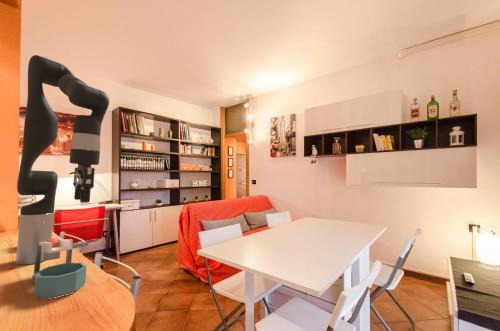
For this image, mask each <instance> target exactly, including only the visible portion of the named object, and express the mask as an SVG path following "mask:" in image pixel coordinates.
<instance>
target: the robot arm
mask: <svg viewBox="0 0 500 331" xmlns="http://www.w3.org/2000/svg"><path fill="white" fill-rule="evenodd" d="M43 85H46V86H47V85H48V86H51V87H55V88H58V89H59V90H60V91H61V92H62V93H63V95H65V96H66V97H68V101H69V102H70V103H71V104H72V105H73V106H76V107H78V108H82V109H86V110H90V111H91V113H90V114H87V115H86V114H79V115H78V114H77V115H76V116H75V117H74V118H73V128H72V136H71V141H70V151H69V163H70V164H73V165H77V167H75V168H74V175H73V176H74V177H73V183H72V186H73V187H74V197H73V199H74V200H75V201H76V200H77V201H80V203H89V202H90V200H91V190H92V189H93V188H94V186H95V185H94V184H95V183H94V182H95V170H96V169H95V167H92V166H97V165H99V164H100V157H101V156H100V155H101V143H102V142H101V130H102V129H101V128H102V123H103V120H104V118H105V115H106V113H107V111H108V109H109V106H110V97H109V95H108V94H107V93H106V91H103V90H101V89H98V88H95V87H93V86H89V85H88V84H87V83H86V82H85V81H83V80H81V79H79V78H78V77H76V76H75V75H74V74H73V72H72V71H71V70H70V69H69V68H68V67H67V66H65V65H63V63H61V62H57V61H55V60H51V59H50V58H47V57H44V56H40V55H37V54H34V55H32V56H31V57H30V59H29V60H28V65H27V101H26V110H25V116H24V122H23V123H24V124H23V137H22V138H23V139H22V150H21V151H22V153H21V159H20V160H21V161H20V164H19V165H20V166H19V171H18V177H17V183H16V191H17V193H18V195H19V196H43V198H41V199H40V200H38V201H36V202H35V201H34V202H32V203H29V204H25V205H23V206H22V207H20V215H19V222H18V223H19V224H18V235H17V244H16V245H17V246H16V257H15V264H16V265H31V264H32V265H33V264H34V263H35V252H36V246H38V245H39V244H40V242H45V241H47V240H48V239H50V238H53V228H54V217H55V206H56V205H55V201H56V195H57V187H58V174H57V172H55V171H53V170H33V169H32V168H33V166H34V164H35V163H36V161H37V160H38V158H39V157H40V156H41V154H43V152H45V151H46V150H47V149H48V148H49V147H50V146H51V145H52V144H53V143H55V141H56V139H57V137H58V129H59V120H58V117H57V115H56V113H55V112H54V110H53V108H52V107H51V105H50V104H49V102H48V100H47V98H46V96H45V93H44V87H43ZM41 259H42V252H41ZM41 262H43V261H40V263H41Z"/></svg>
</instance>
